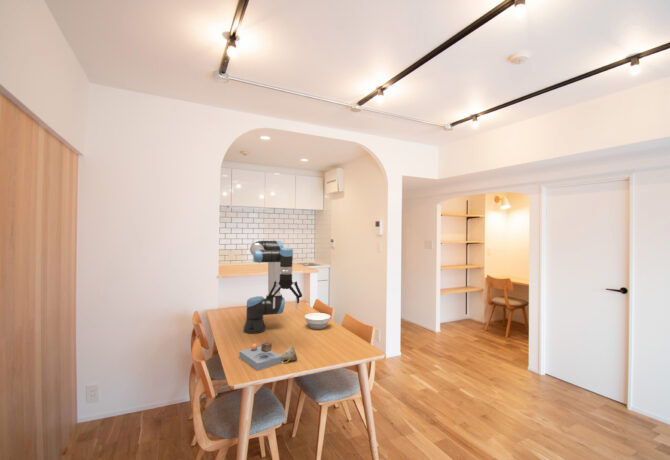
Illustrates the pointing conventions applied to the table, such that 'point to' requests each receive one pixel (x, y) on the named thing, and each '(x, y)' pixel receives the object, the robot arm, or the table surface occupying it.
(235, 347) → the table surface
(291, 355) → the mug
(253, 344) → the ball
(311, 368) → the table surface
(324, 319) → the bowl
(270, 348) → the walnut cube
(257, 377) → the table surface
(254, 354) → the grey flat block
